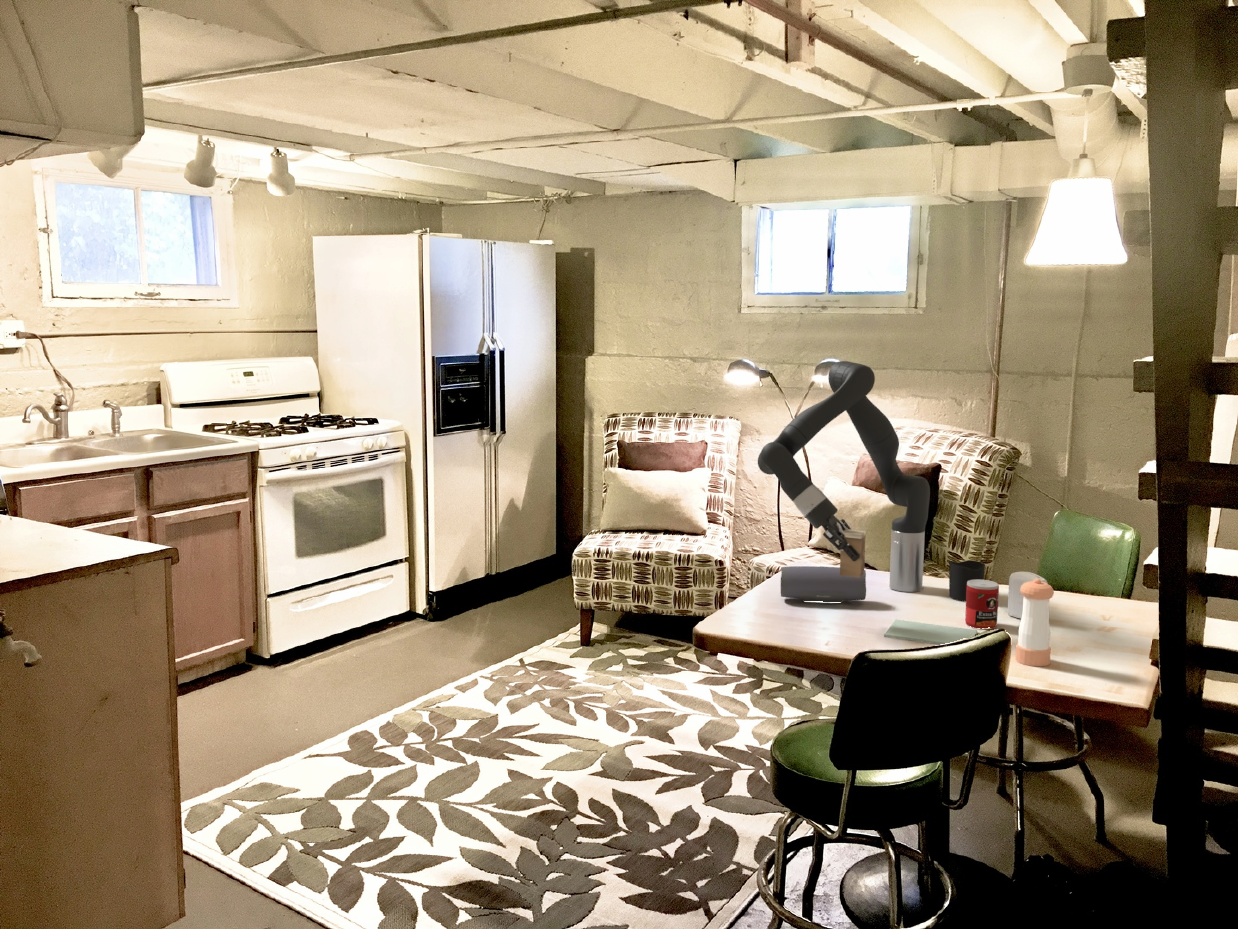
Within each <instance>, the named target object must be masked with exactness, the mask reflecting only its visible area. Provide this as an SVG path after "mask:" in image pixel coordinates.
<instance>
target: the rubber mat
mask: <svg viewBox="0 0 1238 929" xmlns="http://www.w3.org/2000/svg"><path fill="white" fill-rule="evenodd" d="M977 633H978V629H974V628H973V629H972V628H965V627H956V626H949V625H941V624H935V623H934V624H933V623H928V622H927V623H926V622H917V621H912V620H911V621H910V620H904V619H895V620H894V621H893V623H892V624H891V625H890V626H889V628H888V629H887V630H886V631H885V633H884V634H883V635H884V638H891V639H899V640H905V641H911V642H912V641H913V642H920V643H928V644H935V645H941V644H945V643H950V642H954V641H957V640H960V639H963V638H969V637H971V636H974V635H975V634H976V635H977Z"/></svg>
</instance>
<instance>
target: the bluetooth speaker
mask: <svg viewBox="0 0 1238 929" xmlns="http://www.w3.org/2000/svg"><path fill="white" fill-rule="evenodd" d="M780 572H781V576H780V597H782V598H787V599H798V600H802V601H803V600H804V601H823V602H841V603H842V602H845V601H846V602H849V601H865V600H866V596H867V586H866V585H867V582H866V581H867V580H866V578H867V576H866V575H867V573H866V572H867V571H866V570H865V569H864V574H863V575H862V576H861V577H860V578H858V577H850V576H841V575H840V566H838V567H837V566H816V565H815V566H811V565H810V566H809V565H807V566H802V565H800V566H781V568H780Z"/></svg>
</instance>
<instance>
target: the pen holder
mask: <svg viewBox="0 0 1238 929" xmlns="http://www.w3.org/2000/svg"><path fill="white" fill-rule="evenodd" d="M985 568H986V564H985V562H982V561H979V560H972V559H968V560H964V561H963V560H962V561H960V562H959V561H958V562H956V561H953V560H950V561H949V570H948V571H949V572H948V575H949V579H948V581H949V582H948V584H949V586H948V588H949V590H948V594H949V598H950V599H952V600H955V601H957V602H964V601H966V590H967V582H968V581H969V580H975V579H981V580H985V571H986V570H985Z"/></svg>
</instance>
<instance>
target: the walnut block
mask: <svg viewBox="0 0 1238 929" xmlns="http://www.w3.org/2000/svg"><path fill="white" fill-rule="evenodd" d="M844 534H845V536H846V537H845V538H846V539H847V541H848V542H849V543H850V545H851V546H852V547H853V548H854V549H855V550H856V551H857V552H858V554H859V555H860V558H858V559H857V560H856V561H852V559H851V558H850V557H849V556H848V555H847V554H846V553H845V552H844V551H842V550H840V558H839V559H840V560H839V567H840V575H841V576H850V577H858V578H860V577H861V576H862V575H863V574H864V570H865V560H866V558H865V556H866V534H867V533H866V530H861V529H860V530H857V529H856V530H855V529H852V530H850V529H848V530H844Z"/></svg>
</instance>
